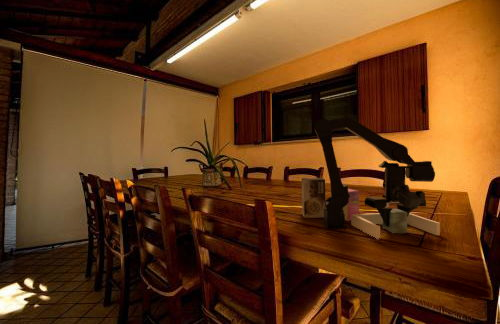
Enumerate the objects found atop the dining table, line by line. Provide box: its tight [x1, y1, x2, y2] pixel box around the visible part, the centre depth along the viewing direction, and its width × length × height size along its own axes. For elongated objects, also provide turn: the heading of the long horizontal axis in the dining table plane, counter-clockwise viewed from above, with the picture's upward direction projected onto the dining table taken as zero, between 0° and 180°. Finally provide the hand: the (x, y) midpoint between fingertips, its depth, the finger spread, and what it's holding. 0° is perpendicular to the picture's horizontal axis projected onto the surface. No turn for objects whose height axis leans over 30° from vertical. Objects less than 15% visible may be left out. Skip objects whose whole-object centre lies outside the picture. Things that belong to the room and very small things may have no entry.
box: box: [343, 188, 360, 222], centre depth 94 cm, size 10×6×12 cm, turn 17°
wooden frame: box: [350, 212, 441, 240], centre depth 78 cm, size 22×14×4 cm, turn 97°
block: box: [382, 208, 408, 234], centre depth 77 cm, size 5×5×7 cm
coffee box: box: [301, 177, 326, 219], centre depth 96 cm, size 9×6×16 cm
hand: (394, 226), depth 77 cm, fingers open, 5 cm apart
